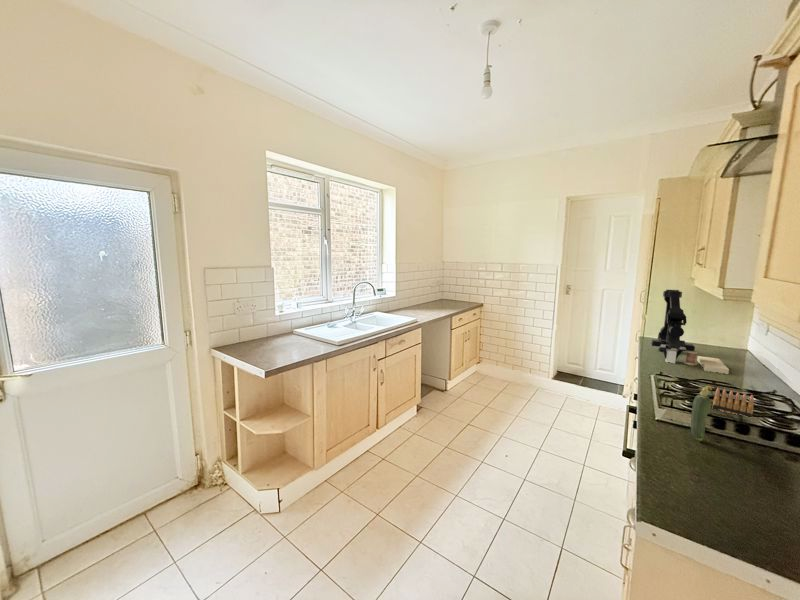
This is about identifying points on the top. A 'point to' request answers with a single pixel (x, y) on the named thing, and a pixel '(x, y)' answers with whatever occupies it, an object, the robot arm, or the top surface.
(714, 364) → the notched board
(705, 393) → the vegetable
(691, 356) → the bobbin
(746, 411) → the ammunition clip
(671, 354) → the block
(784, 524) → the top surface
